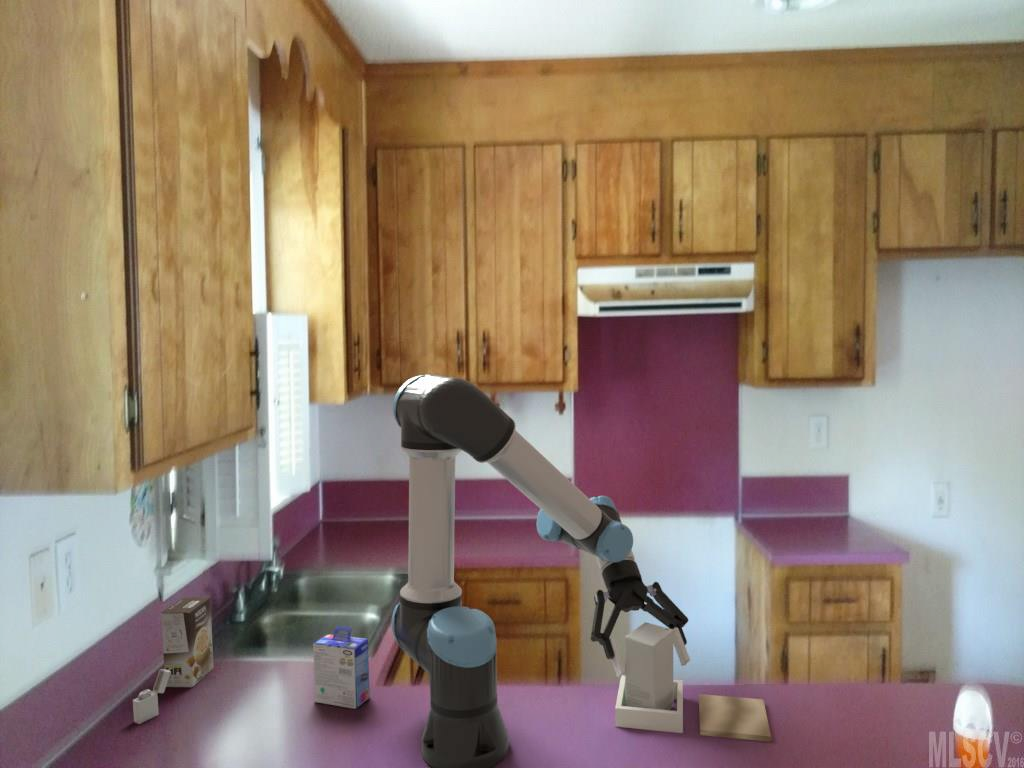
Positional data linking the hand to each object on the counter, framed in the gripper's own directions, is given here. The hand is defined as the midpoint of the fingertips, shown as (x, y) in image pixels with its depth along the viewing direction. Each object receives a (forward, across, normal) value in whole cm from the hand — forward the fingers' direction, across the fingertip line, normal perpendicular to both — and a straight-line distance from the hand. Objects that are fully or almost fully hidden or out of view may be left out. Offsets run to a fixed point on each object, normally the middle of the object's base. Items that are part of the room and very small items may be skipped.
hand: (654, 669), depth 140 cm
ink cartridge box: (-12, +56, -24) cm, 62 cm away
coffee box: (-27, +86, -39) cm, 98 cm away
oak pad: (+11, -12, -1) cm, 17 cm away
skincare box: (+6, +1, -6) cm, 9 cm away
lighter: (-17, +91, -29) cm, 97 cm away
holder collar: (+6, +1, -6) cm, 8 cm away
